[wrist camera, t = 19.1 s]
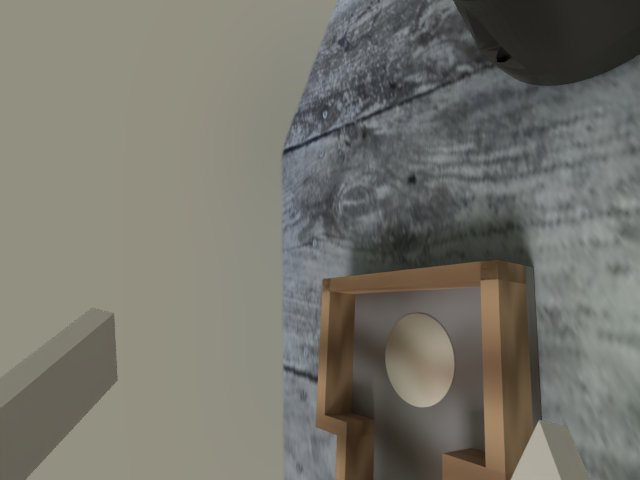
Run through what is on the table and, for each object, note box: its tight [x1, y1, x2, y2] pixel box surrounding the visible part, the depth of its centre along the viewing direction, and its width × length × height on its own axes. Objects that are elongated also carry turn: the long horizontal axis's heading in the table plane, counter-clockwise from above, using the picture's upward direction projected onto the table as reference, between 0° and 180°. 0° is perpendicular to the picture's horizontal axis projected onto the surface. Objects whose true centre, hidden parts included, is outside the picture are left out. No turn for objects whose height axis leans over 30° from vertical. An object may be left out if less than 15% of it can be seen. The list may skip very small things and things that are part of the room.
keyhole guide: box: [316, 259, 542, 480], centre depth 31 cm, size 26×18×4 cm
